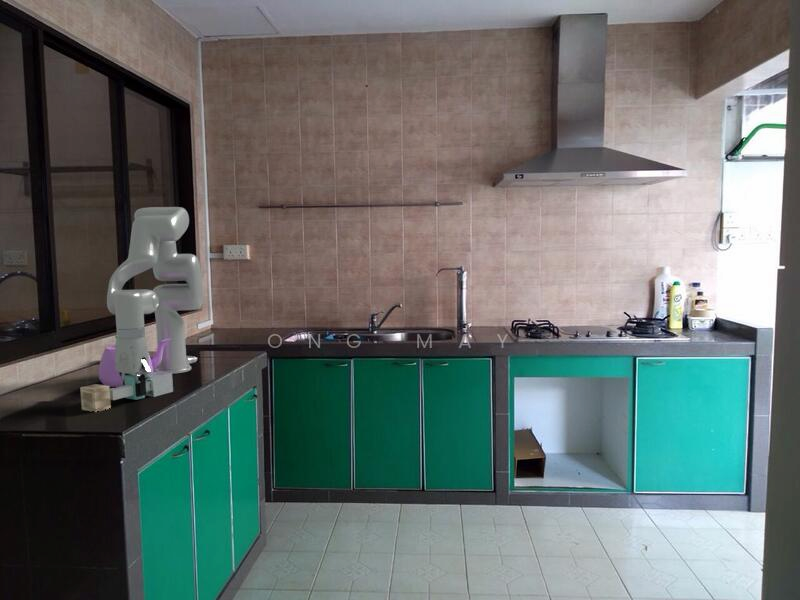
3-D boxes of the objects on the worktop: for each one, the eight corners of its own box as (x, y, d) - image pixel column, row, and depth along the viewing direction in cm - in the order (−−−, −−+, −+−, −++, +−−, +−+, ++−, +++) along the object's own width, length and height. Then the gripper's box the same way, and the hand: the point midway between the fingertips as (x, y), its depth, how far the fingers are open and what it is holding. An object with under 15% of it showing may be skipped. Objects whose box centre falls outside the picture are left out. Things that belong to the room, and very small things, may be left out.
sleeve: (160, 389, 191) (159, 371, 190) (173, 391, 188) (172, 372, 187) (140, 394, 185) (139, 375, 184) (153, 396, 182) (152, 377, 181)
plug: (159, 389, 190) (158, 368, 189) (170, 390, 188) (168, 369, 187) (105, 403, 174) (103, 380, 173) (115, 405, 172) (114, 381, 171)
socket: (96, 405, 173) (95, 384, 172) (110, 408, 169) (109, 386, 169) (81, 409, 169) (80, 387, 168) (95, 412, 166) (94, 389, 165)
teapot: (98, 394, 187) (94, 346, 185) (100, 381, 206) (97, 337, 204) (176, 385, 196) (173, 339, 195) (171, 374, 215) (169, 332, 214)
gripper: (101, 334, 179) (105, 394, 181) (138, 337, 171) (142, 400, 172) (124, 331, 186) (128, 389, 187) (160, 333, 177) (164, 394, 179)
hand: (135, 394), depth 180 cm, fingers closed on plug, 4 cm apart
